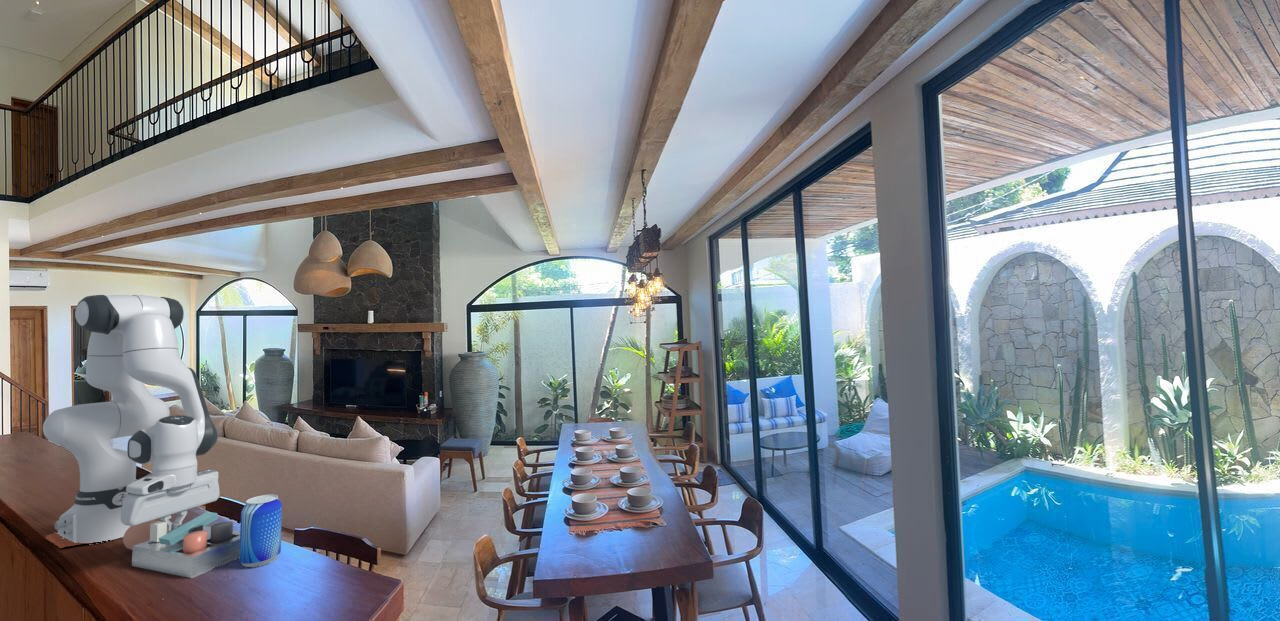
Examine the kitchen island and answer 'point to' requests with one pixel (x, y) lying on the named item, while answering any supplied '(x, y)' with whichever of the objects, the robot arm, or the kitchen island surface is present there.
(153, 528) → the slider knob
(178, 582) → the kitchen island surface
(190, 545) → the pink rounded cylinder
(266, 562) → the beer can
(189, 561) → the switch box
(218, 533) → the black button
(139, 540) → the toy ball
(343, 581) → the kitchen island surface
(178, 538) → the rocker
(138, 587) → the kitchen island surface
